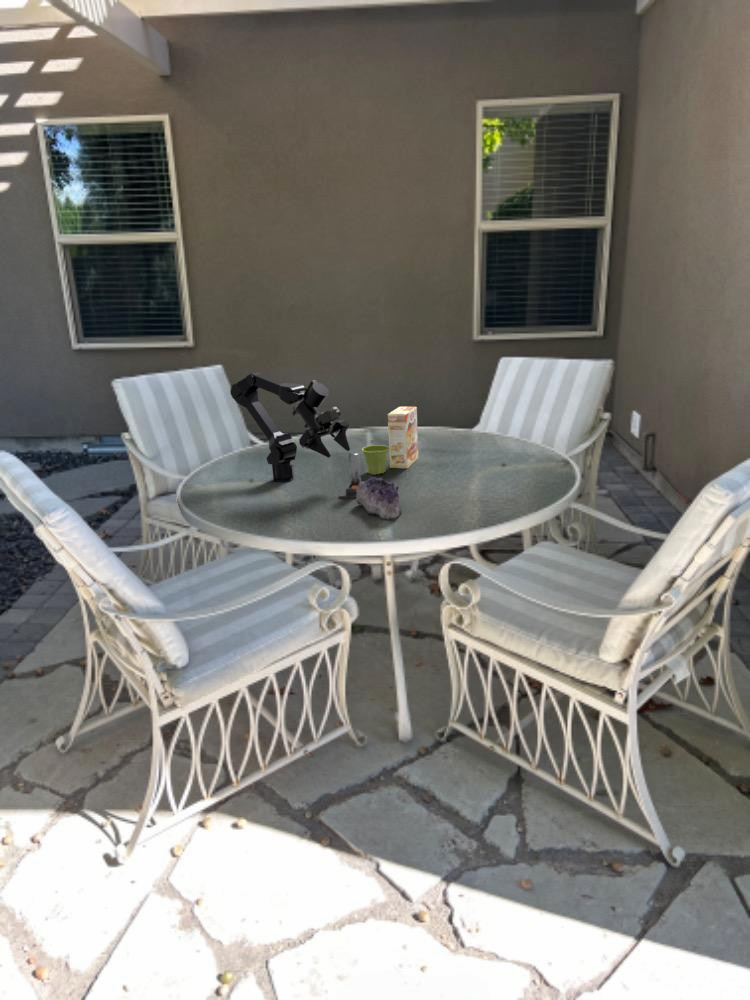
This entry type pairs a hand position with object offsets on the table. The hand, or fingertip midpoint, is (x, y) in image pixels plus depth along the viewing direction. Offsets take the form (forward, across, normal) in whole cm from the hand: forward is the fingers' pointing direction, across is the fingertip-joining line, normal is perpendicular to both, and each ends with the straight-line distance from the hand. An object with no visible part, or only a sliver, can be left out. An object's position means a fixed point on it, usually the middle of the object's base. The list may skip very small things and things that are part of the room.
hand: (339, 453), depth 220 cm
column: (+13, 0, +4) cm, 14 cm away
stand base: (+13, 0, +4) cm, 14 cm away
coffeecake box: (+7, +37, +11) cm, 39 cm away
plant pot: (+6, +22, +12) cm, 26 cm away
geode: (+26, -8, -7) cm, 28 cm away
